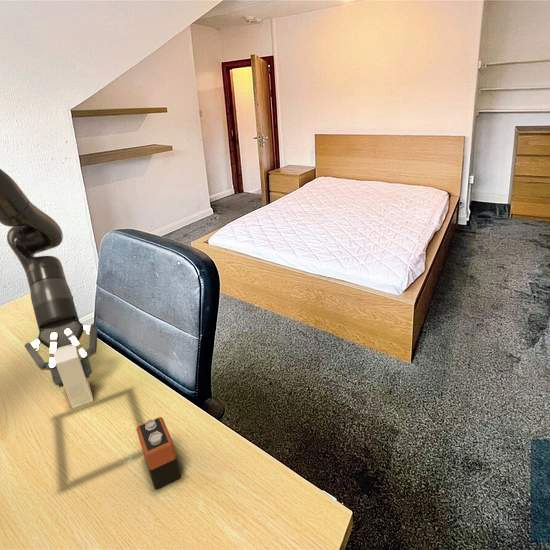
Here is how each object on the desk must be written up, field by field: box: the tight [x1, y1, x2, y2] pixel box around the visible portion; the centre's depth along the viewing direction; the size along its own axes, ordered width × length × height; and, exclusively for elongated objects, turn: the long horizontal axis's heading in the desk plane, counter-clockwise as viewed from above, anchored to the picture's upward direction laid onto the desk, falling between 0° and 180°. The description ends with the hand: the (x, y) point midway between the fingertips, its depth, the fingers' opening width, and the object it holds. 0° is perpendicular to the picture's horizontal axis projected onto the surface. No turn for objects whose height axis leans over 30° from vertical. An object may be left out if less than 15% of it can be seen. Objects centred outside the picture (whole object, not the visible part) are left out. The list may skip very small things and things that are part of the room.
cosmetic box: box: [53, 344, 94, 409], centre depth 83 cm, size 6×4×12 cm
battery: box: [136, 416, 182, 491], centre depth 66 cm, size 4×7×10 cm, turn 29°
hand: (74, 381), depth 81 cm, fingers closed on cosmetic box, 4 cm apart
